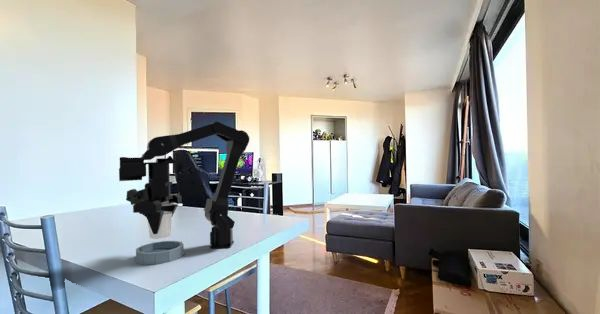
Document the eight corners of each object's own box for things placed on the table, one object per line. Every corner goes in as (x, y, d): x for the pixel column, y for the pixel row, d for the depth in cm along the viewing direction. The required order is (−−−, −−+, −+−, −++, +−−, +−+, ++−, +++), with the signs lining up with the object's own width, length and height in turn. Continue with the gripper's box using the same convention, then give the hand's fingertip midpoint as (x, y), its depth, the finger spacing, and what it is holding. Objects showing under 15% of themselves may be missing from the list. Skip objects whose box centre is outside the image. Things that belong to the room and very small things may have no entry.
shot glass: (162, 239, 83) (162, 215, 83) (141, 239, 84) (141, 214, 84) (177, 233, 89) (177, 210, 90) (158, 233, 91) (157, 210, 91)
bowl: (189, 249, 93) (189, 240, 93) (172, 263, 80) (172, 252, 80) (149, 250, 93) (149, 241, 93) (126, 264, 80) (126, 254, 80)
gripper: (148, 177, 96) (149, 224, 96) (112, 182, 77) (113, 240, 77) (181, 176, 96) (182, 223, 96) (154, 181, 78) (155, 239, 78)
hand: (160, 231), depth 87 cm, fingers closed on shot glass, 6 cm apart
